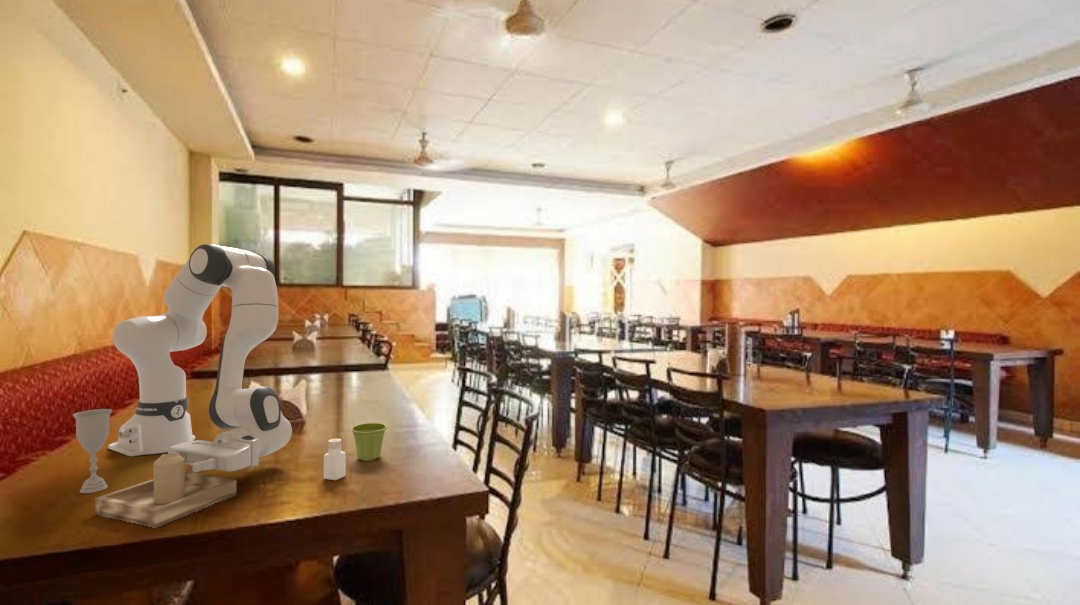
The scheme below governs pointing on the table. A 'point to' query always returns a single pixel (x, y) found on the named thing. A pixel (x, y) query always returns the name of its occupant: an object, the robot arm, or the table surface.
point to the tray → (142, 510)
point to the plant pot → (369, 440)
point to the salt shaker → (334, 460)
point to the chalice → (93, 442)
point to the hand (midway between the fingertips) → (176, 465)
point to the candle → (169, 478)
